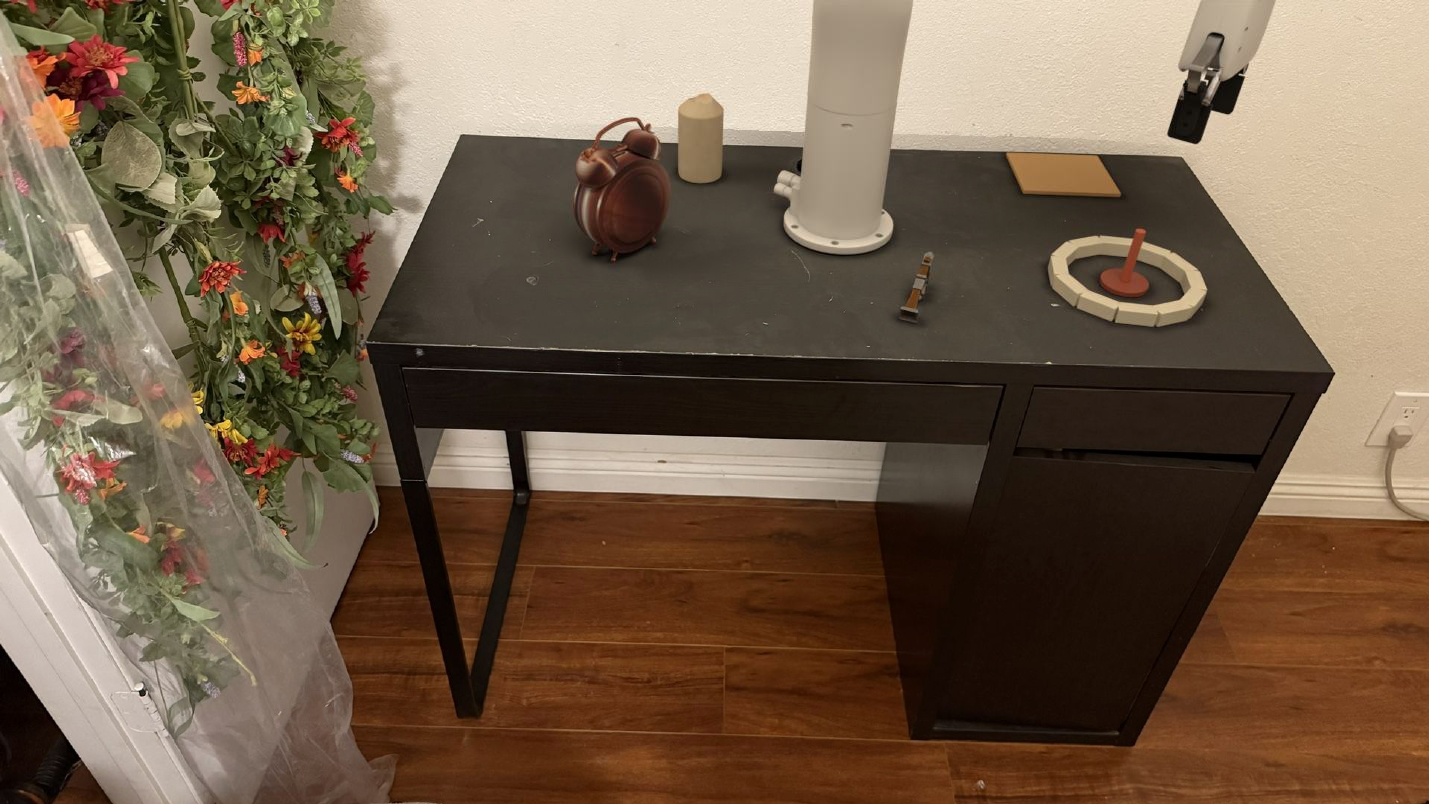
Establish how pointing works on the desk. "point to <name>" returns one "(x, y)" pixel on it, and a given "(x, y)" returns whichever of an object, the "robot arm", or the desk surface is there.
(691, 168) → the candle
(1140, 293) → the post
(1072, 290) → the ring
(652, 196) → the alarm clock
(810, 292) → the desk surface
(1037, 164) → the mat
